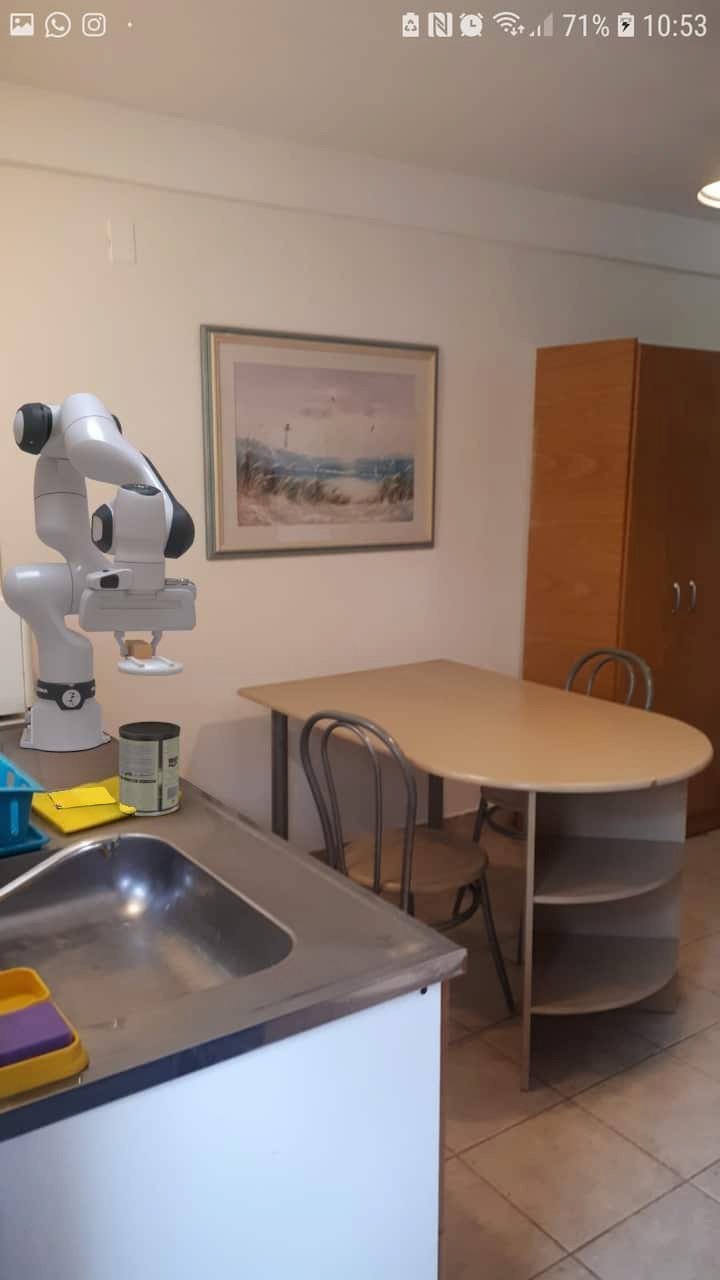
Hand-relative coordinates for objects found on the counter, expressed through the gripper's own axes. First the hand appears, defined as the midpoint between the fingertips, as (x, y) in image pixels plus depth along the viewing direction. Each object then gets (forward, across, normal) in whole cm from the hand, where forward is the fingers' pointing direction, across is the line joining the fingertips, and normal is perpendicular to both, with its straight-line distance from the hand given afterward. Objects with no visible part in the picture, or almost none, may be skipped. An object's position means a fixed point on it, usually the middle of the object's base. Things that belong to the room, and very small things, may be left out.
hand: (137, 656), depth 168 cm
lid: (+1, 0, +5) cm, 5 cm away
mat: (+25, +9, 0) cm, 27 cm away
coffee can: (+25, 0, +9) cm, 27 cm away
